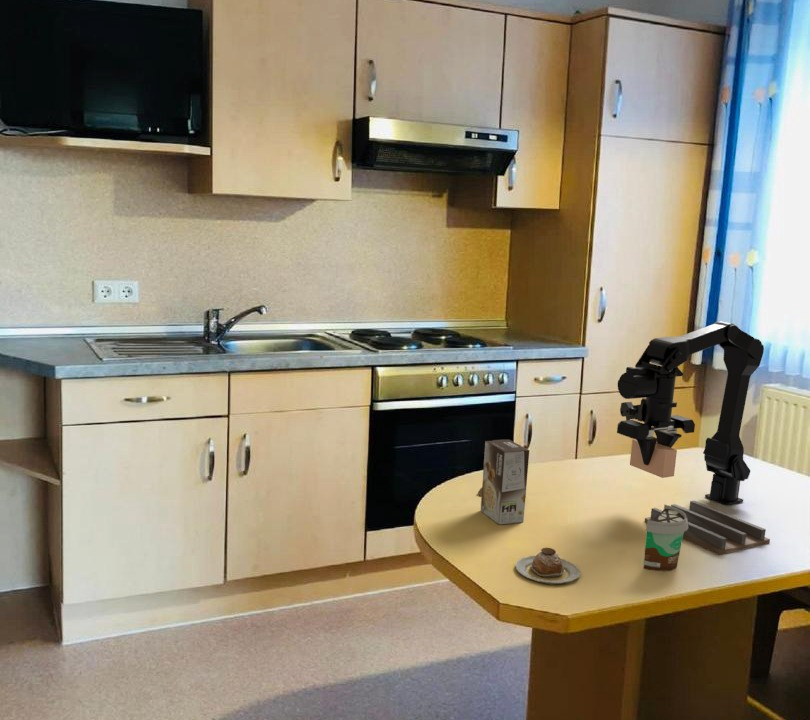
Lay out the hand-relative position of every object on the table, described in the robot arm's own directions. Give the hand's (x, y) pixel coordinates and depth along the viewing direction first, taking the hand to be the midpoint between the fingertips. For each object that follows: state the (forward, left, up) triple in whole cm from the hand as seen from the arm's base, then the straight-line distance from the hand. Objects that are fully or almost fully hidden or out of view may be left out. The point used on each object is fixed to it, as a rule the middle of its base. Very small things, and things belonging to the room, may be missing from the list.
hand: (652, 463), depth 198 cm
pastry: (+43, +16, -12) cm, 47 cm away
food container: (+19, +23, -12) cm, 32 cm away
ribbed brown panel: (-3, +14, -11) cm, 18 cm away
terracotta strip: (0, 0, -2) cm, 2 cm away
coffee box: (+33, -11, -12) cm, 37 cm away
